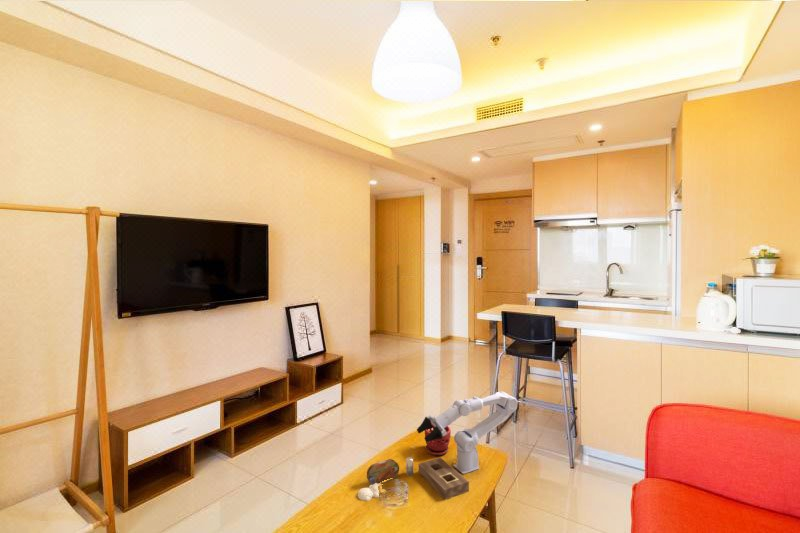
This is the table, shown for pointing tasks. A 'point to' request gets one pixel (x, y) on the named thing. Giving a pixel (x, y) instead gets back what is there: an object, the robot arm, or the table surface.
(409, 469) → the pin
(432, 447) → the plant pot
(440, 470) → the bore block
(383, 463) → the tin
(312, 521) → the table surface
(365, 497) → the astronaut figurine
